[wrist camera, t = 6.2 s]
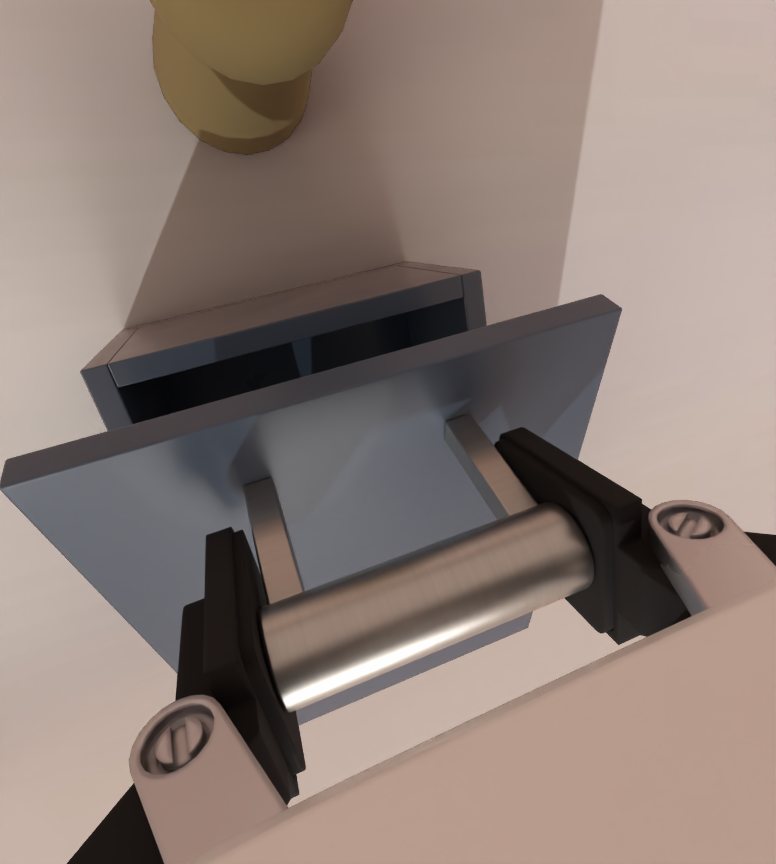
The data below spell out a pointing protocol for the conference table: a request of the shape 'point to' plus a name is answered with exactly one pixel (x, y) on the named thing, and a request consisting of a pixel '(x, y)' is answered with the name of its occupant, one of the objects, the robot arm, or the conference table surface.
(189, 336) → the dark grey bin
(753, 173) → the conference table surface
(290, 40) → the cork
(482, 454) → the box lid with handle
